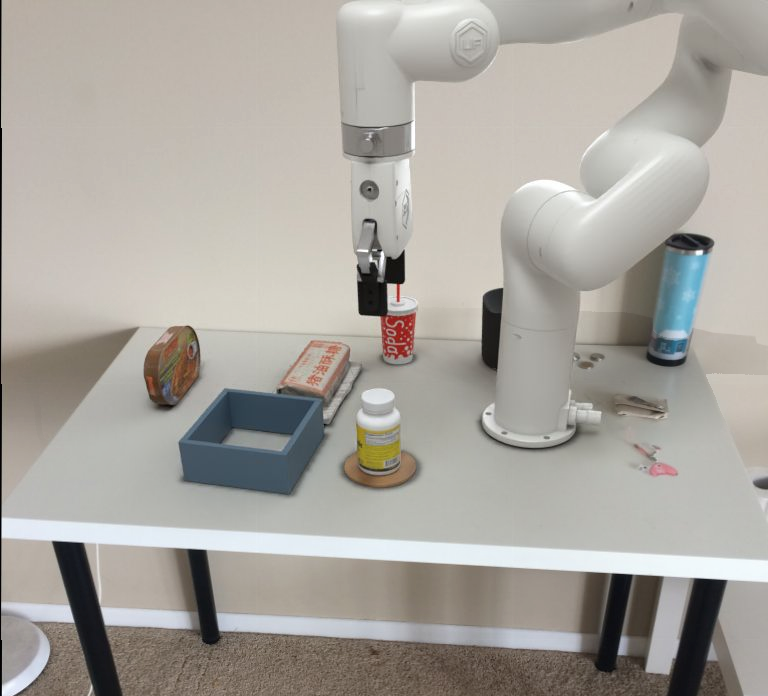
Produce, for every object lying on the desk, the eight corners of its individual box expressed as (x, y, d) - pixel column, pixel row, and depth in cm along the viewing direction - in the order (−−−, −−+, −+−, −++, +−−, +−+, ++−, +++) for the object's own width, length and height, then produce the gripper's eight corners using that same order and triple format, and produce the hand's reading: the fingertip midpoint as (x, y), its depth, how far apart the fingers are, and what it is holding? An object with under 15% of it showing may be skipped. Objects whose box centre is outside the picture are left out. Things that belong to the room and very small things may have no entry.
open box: (324, 435, 116) (322, 398, 113) (289, 494, 104) (286, 455, 101) (229, 424, 119) (224, 387, 115) (184, 480, 107) (177, 441, 104)
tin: (167, 415, 121) (158, 360, 116) (146, 414, 121) (136, 358, 116) (205, 369, 133) (197, 316, 128) (185, 367, 133) (177, 315, 128)
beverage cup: (370, 359, 135) (369, 271, 127) (394, 346, 139) (394, 260, 131) (402, 370, 132) (402, 280, 124) (425, 356, 136) (427, 268, 128)
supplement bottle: (361, 452, 111) (360, 383, 106) (403, 456, 111) (404, 386, 105) (353, 475, 107) (351, 404, 101) (397, 478, 106) (397, 407, 101)
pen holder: (535, 347, 138) (541, 286, 133) (544, 373, 131) (551, 310, 125) (476, 348, 139) (479, 287, 133) (481, 374, 131) (485, 310, 125)
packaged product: (298, 334, 131) (362, 340, 129) (300, 363, 134) (363, 370, 132) (257, 387, 117) (328, 394, 115) (260, 418, 120) (330, 426, 118)
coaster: (422, 454, 112) (422, 451, 112) (407, 491, 105) (407, 489, 104) (355, 446, 114) (354, 443, 113) (335, 482, 106) (335, 479, 106)
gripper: (397, 161, 82) (400, 331, 92) (428, 121, 96) (428, 273, 105) (320, 159, 83) (331, 326, 93) (362, 120, 97) (368, 270, 107)
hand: (382, 298), depth 99 cm, fingers open, 9 cm apart
